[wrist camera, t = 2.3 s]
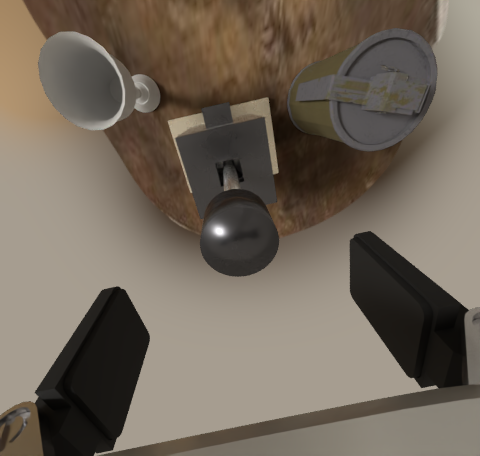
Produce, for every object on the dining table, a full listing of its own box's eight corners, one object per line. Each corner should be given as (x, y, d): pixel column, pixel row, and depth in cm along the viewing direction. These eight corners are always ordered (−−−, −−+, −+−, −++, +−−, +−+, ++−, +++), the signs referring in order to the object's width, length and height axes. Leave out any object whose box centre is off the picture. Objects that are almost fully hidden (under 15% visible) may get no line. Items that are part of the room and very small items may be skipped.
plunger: (245, 131, 30) (289, 177, 11) (253, 176, 33) (301, 277, 13) (200, 142, 30) (165, 205, 11) (212, 185, 33) (200, 298, 14)
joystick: (266, 93, 38) (298, 85, 22) (277, 171, 44) (308, 207, 28) (168, 117, 38) (132, 124, 23) (191, 190, 44) (175, 236, 29)
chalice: (172, 114, 38) (138, 121, 22) (131, 124, 38) (67, 137, 22) (156, 60, 35) (101, 21, 19) (111, 71, 35) (19, 42, 19)
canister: (360, 66, 37) (488, 30, 19) (339, 138, 42) (427, 162, 24) (292, 55, 36) (362, 4, 18) (278, 129, 40) (324, 148, 23)
